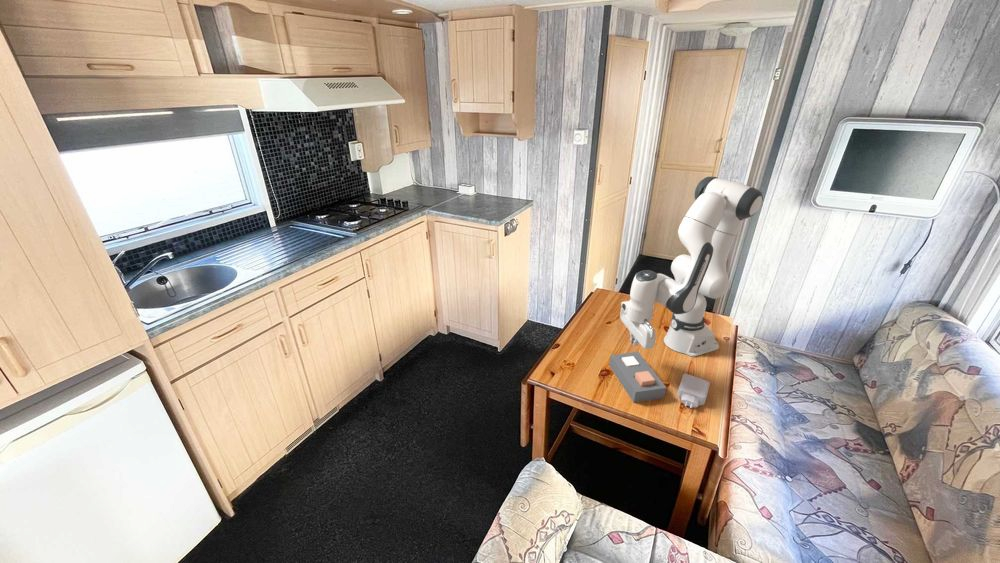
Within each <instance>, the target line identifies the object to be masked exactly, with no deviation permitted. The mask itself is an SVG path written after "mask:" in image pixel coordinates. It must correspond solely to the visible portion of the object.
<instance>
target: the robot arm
mask: <svg viewBox="0 0 1000 563" xmlns="http://www.w3.org/2000/svg"><path fill="white" fill-rule="evenodd" d="M694 200H695V201H694V202H693V203H692V204H691V206H690V207H689V209H688V210H687V211H686V214H685V215H684V217H683V219H682V220H681V222H680V224H679V227H678V229H677V235H678V239H679V240H680V243H681V244H682V245H683V246H684V247H685V249H686V250H687V251H688V253H689V254H690V255H689V254H685V253H684V254H680V255H678V256H676V257H674V259H673V260H672V262H671V265H670V271H671V273H672V274H673V277H674V279H673V278H672V277H669V276H668V275H666V274H663V273H661V272H658V273H657V272H655V271H653V270H651V269H646V270H645V269H644V270H640V271H638V272H636V273H635V275H634V277H633V279H632V282H631V285H630V286H631V287H630V291H629V292H630V293H629V296H630V299H629V300H625V301H621V303H620V306H621V307H620V314H619V315H620V316H619V317H620V321H621V322H622V324H623V325H624V326H625V327H626V329H628V331H629V335H630V342H631V344H632V345H633V346H634V347H637V346H638V345H639V344H640V345H641V347H642V349H644V350H647V349H648V350H650V349H653V348H654V347H655V344H656V330H655V328H654V327H653V325H652V324H650V322H651V321H652V319H653V315H654V310H655V303H659V304H661V306H663V307H665V308H666V309H668V310H669V311H670V312H672V316H671V321H670V325H669V327H668V330H667V332H666V334H665V336H664V337H663V343H664V344H665V345H666V346H667V347H668V348H669V349H671V350H672V351H675V352H678V353H681V354H684V355H687V356H690V357H693V358H695V357H699V356H701V355H704V354H708V353H711V352H714V351H717V350H719V349H720V345H719V343H718V341H717V340H716V337H715V332H714V331H713V330H712V329H711V328H710V327H709V325H711V324H712V322H711V320H709V319H708V318H705V316H704V315H705V313H706V308H707V299H706V297H707V298H710V299H713V300H716V299H719V298H721V297H723V296H724V295H726V293H728V291H729V290H730V284H731V281H730V278H729V277H728V276H729V275H728V272H727V259H728V255H729V252H730V250H731V248H732V246H733V243H734V241H735V239H736V238H737V235H738V233H739V232H740V229H741V226H742V224H743V221H744V220H745V219H749V218H751V217H753V216H754V215H756V214H757V213H758V211H759V209H760V208H761V205H762V203H763V200H764V196H763V193H762V191H761V190H760V189H758V188H755V187H752V186H748V185H746V184H745V183H740V182H738V181H735V180H734V181H732V180H729V179H724V178H719V177H716V176H706V177H704V178H703V179H701V180H700V181H699V182H698V184H697V185H696V188H695V190H694Z"/></svg>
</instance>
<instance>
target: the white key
mask: <svg viewBox="0 0 1000 563" xmlns="http://www.w3.org/2000/svg"><path fill="white" fill-rule="evenodd" d="M621 360H622V361H623V362H624V364H625V365H626V367H632V366H639V363H638V362H637V360H636V359H635V358H634V356H630V357H623V358H621Z"/></svg>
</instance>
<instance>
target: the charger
mask: <svg viewBox="0 0 1000 563" xmlns="http://www.w3.org/2000/svg"><path fill="white" fill-rule="evenodd" d="M710 385H711V384H710V382H709V381H708V380H706V379H703V378H700V377H698V376H693V375H691V374H688V373H684V374H683V375H682V378H681V380H680V384H679V386H678V388H677V394H676V395H677V397H678V398H679V399H680V402H681V403H683V404H684V407H687V406H688V407H689V408H690V409H692V408H698V407H699V406H704V405H705V404H706V401H707V397H708V392H709V390H710V389H709V388H710Z"/></svg>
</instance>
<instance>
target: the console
mask: <svg viewBox="0 0 1000 563" xmlns="http://www.w3.org/2000/svg"><path fill="white" fill-rule="evenodd" d="M609 356H610V358H609V362H608V365H609V367H610V369H611V370H612V372H613V373H614V374H613V375H615V377H616V378H617V379H618V381H619V383H620V384H621V386H622V387H623V389H624V390H625V392H626V394H627V395H628V397H629V398H630V399H631V401H632V402H633V403H639V402H646V401H653V400H660V399H665V396H666V391H667V386H666V385H665V384H664V383H663V381H662V380H661V378H660V377H659V376H658V375H657V373H655V371H654V370H653V368H651V366H650V365H649V363H648V362H647V361H646V359H644V357H643V355H642V354H641V353H640V352H639V351H635V352H627V353H619V354H618V353H617V354H610V355H609ZM630 356H634V358H635V359H636V360H637V362H638V363H639V366H632V367H626V365H625V364H624V362H623V361H622V360H621V358H623V357H630ZM644 371H648V372H649V373H650V374H651V375H652V377H653V378H654V379H655V382H654V385H651V386H644V387H641V386H640V385H639V384H638V382H637V381H636V379H635V373H636V372H644Z"/></svg>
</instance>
